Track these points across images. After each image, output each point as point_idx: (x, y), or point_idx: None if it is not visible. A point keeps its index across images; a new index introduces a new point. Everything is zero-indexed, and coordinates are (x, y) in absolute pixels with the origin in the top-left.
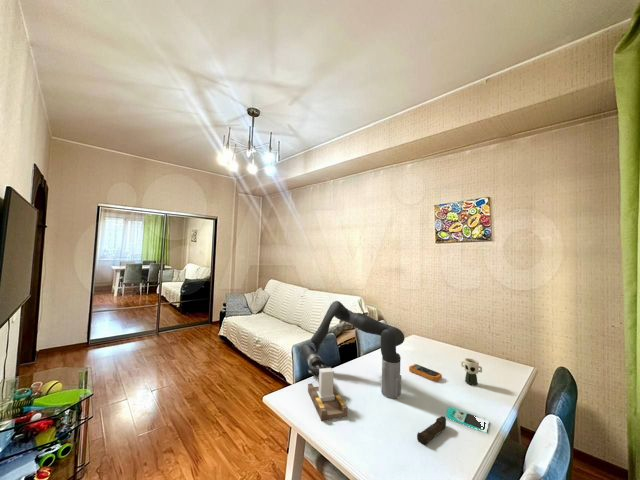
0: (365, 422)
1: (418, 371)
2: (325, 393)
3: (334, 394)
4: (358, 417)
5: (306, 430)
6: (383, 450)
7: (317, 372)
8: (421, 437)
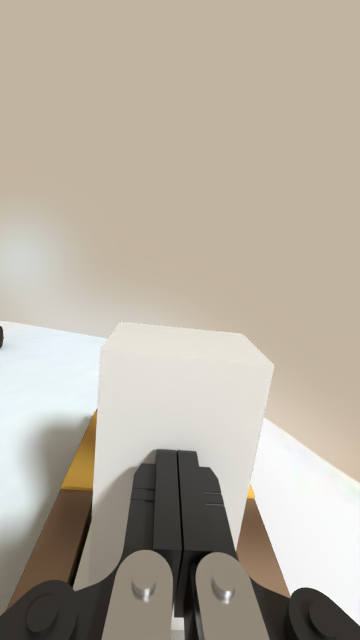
0: (55, 405)
1: None
2: None
3: (86, 519)
4: (55, 426)
5: (270, 425)
6: (95, 356)
7: (302, 603)
8: (2, 333)
